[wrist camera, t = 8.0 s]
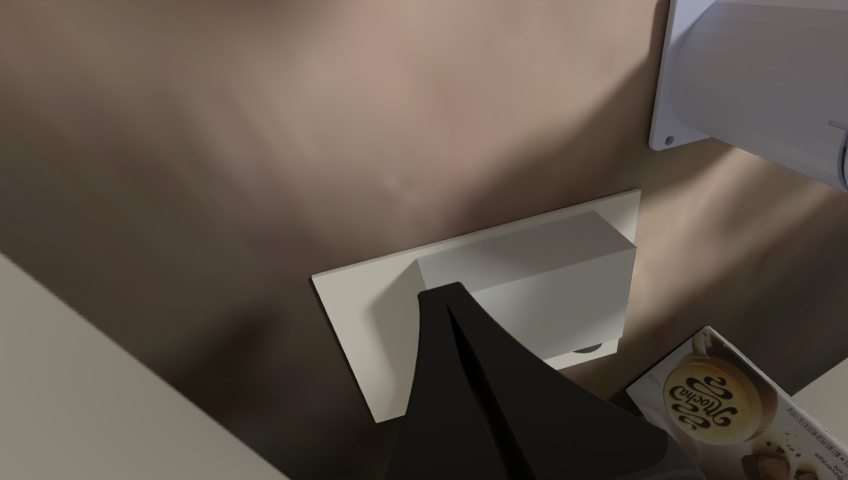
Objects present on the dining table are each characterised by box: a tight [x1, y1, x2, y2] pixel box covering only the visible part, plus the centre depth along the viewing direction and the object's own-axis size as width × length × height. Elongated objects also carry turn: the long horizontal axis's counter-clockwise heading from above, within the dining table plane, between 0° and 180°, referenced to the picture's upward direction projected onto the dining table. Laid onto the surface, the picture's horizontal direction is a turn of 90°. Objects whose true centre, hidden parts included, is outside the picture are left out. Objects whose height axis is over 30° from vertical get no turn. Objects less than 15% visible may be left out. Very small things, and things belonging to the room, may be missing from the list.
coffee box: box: [626, 326, 848, 480], centre depth 30 cm, size 9×6×16 cm
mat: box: [312, 188, 642, 423], centre depth 28 cm, size 20×15×1 cm
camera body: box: [417, 210, 637, 360], centre depth 24 cm, size 11×8×5 cm
